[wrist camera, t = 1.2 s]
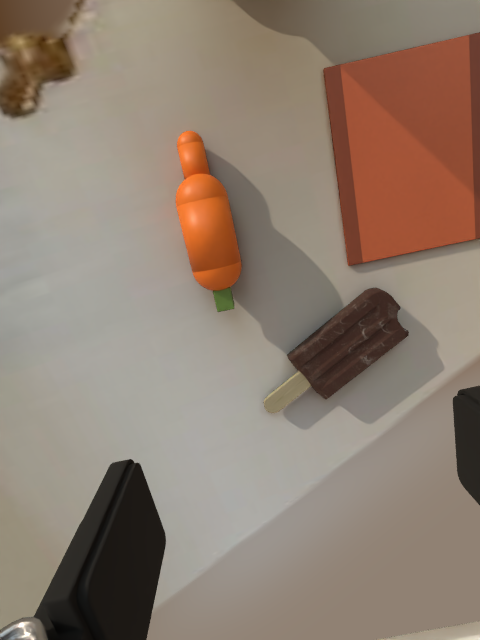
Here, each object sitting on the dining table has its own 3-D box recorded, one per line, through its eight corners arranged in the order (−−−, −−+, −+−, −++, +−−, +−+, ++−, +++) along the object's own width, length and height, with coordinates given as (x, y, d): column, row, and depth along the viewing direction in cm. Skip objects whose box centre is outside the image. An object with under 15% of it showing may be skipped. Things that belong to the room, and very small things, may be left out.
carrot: (164, 140, 28) (153, 126, 24) (213, 129, 27) (210, 113, 24) (204, 308, 31) (200, 319, 27) (248, 298, 31) (251, 309, 27)
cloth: (323, 69, 27) (324, 67, 26) (482, 33, 26) (485, 30, 26) (348, 265, 30) (349, 265, 30) (486, 236, 30) (489, 236, 30)
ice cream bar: (282, 423, 34) (409, 323, 32) (285, 432, 33) (418, 329, 30) (247, 386, 33) (375, 281, 31) (248, 394, 32) (383, 283, 29)
